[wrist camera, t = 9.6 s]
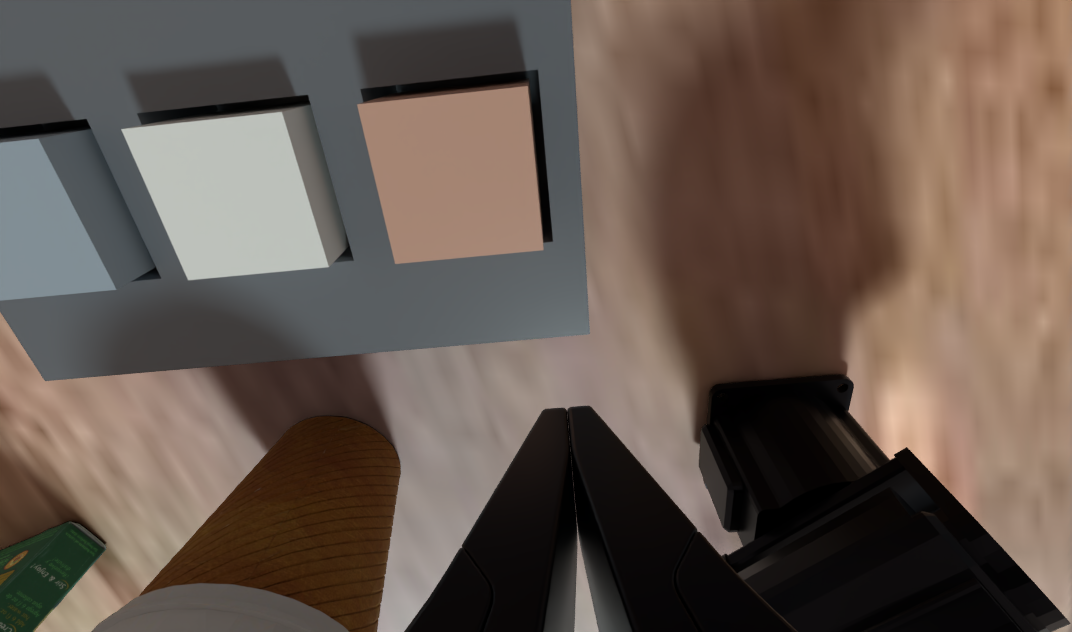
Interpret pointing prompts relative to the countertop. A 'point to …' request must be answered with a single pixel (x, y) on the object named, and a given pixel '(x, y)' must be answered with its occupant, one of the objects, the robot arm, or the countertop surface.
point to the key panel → (333, 91)
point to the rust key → (456, 170)
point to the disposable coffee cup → (285, 543)
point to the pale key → (242, 190)
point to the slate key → (63, 218)
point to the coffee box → (43, 573)
